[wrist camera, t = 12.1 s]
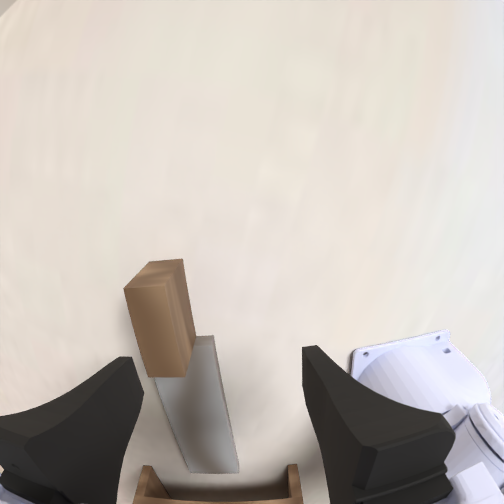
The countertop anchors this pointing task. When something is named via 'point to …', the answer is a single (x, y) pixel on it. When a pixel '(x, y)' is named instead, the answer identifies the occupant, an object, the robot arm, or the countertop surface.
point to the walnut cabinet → (157, 500)
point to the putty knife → (182, 367)
